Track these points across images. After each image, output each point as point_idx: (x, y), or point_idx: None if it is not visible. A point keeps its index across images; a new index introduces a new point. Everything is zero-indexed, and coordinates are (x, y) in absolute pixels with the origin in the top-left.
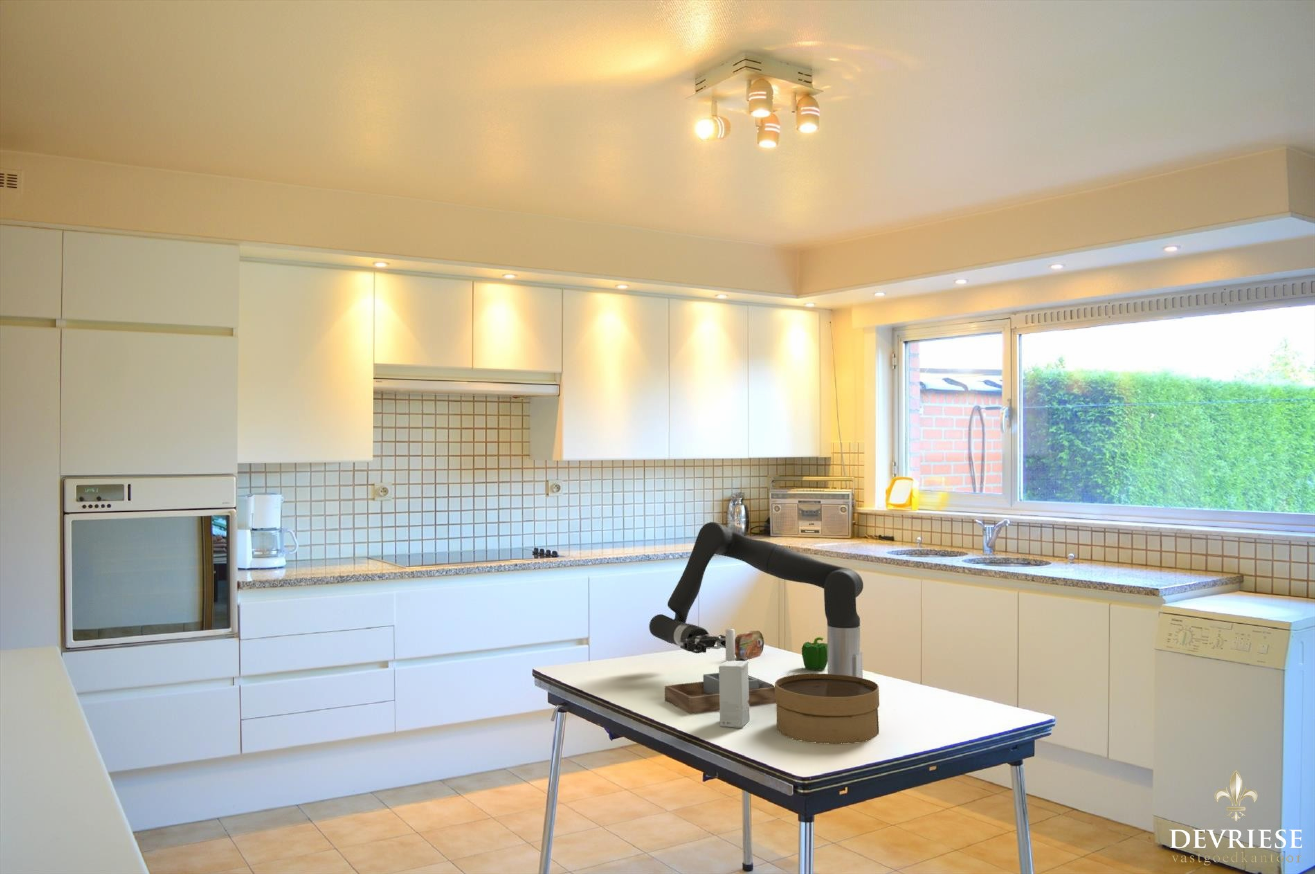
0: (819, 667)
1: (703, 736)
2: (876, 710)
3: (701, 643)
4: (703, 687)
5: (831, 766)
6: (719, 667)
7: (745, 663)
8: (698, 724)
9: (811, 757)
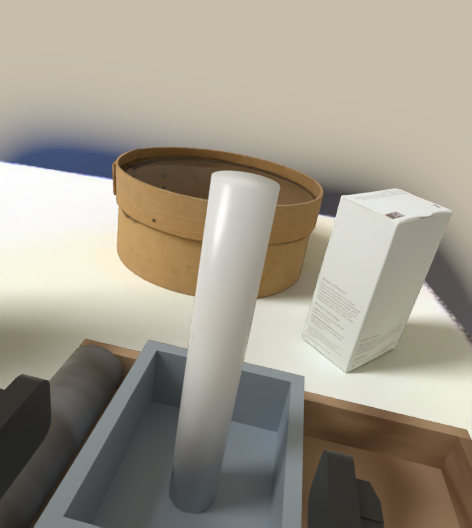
0: None
1: (455, 336)
2: (174, 183)
3: (343, 525)
4: None
5: (324, 219)
6: (450, 213)
7: (363, 193)
8: (445, 387)
9: (326, 233)
